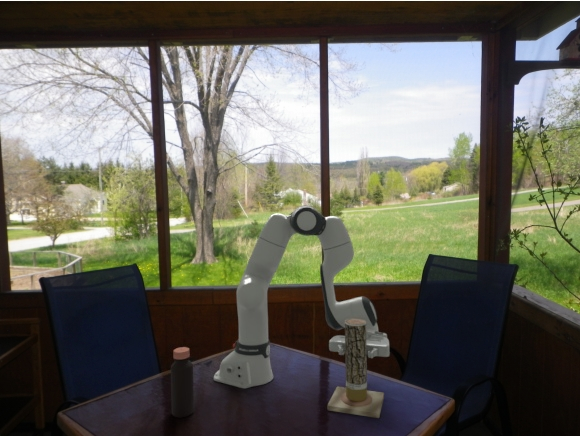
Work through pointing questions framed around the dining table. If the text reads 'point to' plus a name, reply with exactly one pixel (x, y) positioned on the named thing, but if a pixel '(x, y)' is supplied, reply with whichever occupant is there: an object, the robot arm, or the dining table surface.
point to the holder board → (356, 403)
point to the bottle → (182, 383)
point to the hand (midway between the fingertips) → (355, 354)
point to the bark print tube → (356, 359)
